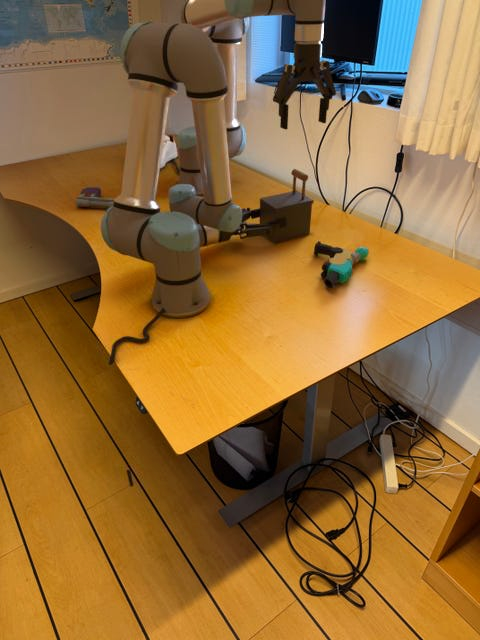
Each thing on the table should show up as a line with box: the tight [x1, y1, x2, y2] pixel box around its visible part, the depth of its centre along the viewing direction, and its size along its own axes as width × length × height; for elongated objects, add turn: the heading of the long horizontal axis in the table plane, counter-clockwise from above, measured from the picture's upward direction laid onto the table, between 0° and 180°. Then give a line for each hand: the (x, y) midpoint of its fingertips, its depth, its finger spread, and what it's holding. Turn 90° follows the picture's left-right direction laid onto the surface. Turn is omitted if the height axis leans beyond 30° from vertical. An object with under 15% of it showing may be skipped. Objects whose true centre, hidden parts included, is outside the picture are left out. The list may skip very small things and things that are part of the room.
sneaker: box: [160, 134, 179, 169], centre depth 214 cm, size 10×29×12 cm, turn 163°
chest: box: [259, 201, 313, 244], centre depth 155 cm, size 14×10×11 cm
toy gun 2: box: [313, 240, 370, 290], centre depth 137 cm, size 4×26×15 cm
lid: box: [259, 168, 315, 212], centre depth 150 cm, size 14×10×9 cm
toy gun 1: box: [74, 186, 115, 210], centre depth 180 cm, size 4×19×15 cm
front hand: (277, 216), depth 153 cm, fingers closed on chest, 10 cm apart
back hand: (303, 125), depth 140 cm, fingers open, 13 cm apart
